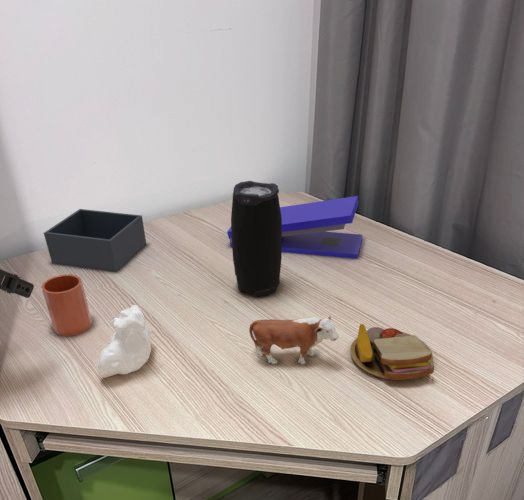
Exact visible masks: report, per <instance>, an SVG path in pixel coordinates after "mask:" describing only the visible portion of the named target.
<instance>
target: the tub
mask: <svg viewBox="0 0 524 500" xmlns="http://www.w3.org/2000/svg"><path fill="white" fill-rule="evenodd" d="M143 220H144V219H143V215H141V214H132V213H123V212H122V213H121V212H114V211H113V212H112V211H104V210H103V211H102V210H95V209H94V210H93V209H83V208H79V209H77V210H76V211H74V212H73V213H72V214H70V215H68V216H67V217H65V218H63V220H61V221H59V222H58V223H56V224H55V225H53V226H52V227H50V228H49V229H47V230H46V231H44V232H43V236H44V239H45V243H46V247H47V250H48V254H49V258H50V261H51V264H53V265H58V266H59V265H61V266H68V267H74V268H75V267H76V268H82V269H89V270H97V271H103V272H111V273H118V272H119V271H120V270H121V269H122V268H124V266H126V265H127V264H128V263H130V261H131V260H132V259H133V258H134V257H135V256H137V254H139V253H140V252H141V251H142V250H143V249H144V248H145V247H146V246H147V239H146V232H145V226H144V221H143Z"/></svg>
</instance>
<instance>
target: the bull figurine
mask: <svg viewBox="0 0 524 500" xmlns="http://www.w3.org/2000/svg"><path fill="white" fill-rule="evenodd" d="M248 331H249V335H250V338H251V340H252V342H253V344H254V348H255V350H256V352H257V355H258V356H259V357H263V356H265V357H266V359H267V362H268V364H271V365H277V364H278V363H279V361H278V360H277V359H276V358H274V356H273V355H272V351H271V349H272V346H273V345H274V346H277V347H278V348H280V349H281V350H286V349H293V348H299V349H300V350H299V358H298V361H297V362H298V364H300V365H305V364H306V360H305V357H306V356H310V357H313V356H315V352H313V349H312V348H315V347H316V346H317V345H318V344H320V343H322V342H323V340H330V341H331V342H335V341H337V340H338V339H339V337H340V335H339V334H338V333H337V331H336V327H335V324H334V322H333V321H331V315H329V316H328V317H326V318H323V319H321V318H318V317H315V316H310V317H308V318H307V317H302V318H297V319H276V318H275V319H273V318H272V319H257V320H254V321H252V322H251V323H250V326H249V328H248Z"/></svg>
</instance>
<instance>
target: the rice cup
mask: <svg viewBox="0 0 524 500" xmlns="http://www.w3.org/2000/svg"><path fill="white" fill-rule="evenodd" d="M40 287H41V291H42V295H43V299H44V301H45V305H46V308H47V311H48V315H49V318H50V321H51V325H52V328H53V331H54V332H55V333H56V334H57V335H58V336H65V337H70V336H71V337H72V336H76V335H79V334H82V333H84V332H86V331H89V329H90V328H91V326H92V323H93V321H92V320H93V319H92V315H91V312H90V308H89V303H88V299H87V296H86V292H85V288H84V283H83V280H82V278H81V277H80V276H78V275H75V274H70V273H69V274H60V275H55V276H52V277H49V278H48V279H46V280H45V281H44V282H43V283H42V285H41V286H40Z"/></svg>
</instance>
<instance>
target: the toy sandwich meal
mask: <svg viewBox="0 0 524 500" xmlns="http://www.w3.org/2000/svg"><path fill="white" fill-rule="evenodd" d="M349 353H350V357H351V358H352V360H353V361H354V363H355V364H356V365H357V366H358V367H359V368H361V369H362V370H363V371H365V372H366V373H368V374H370V375H372V376H375V377H378V378H381V379H386V380H394V381H395V380H397V381H398V380H411V379H419V378H423V377H426V376H429V375H431V374H433V373H434V372H435V365H434V364H433V360H434V355H433V352H432V349H431V348H430V347H429V345H428V344H427V343H426V342H424V341H423V340H421V339H420V338H419V336H417V335H415V334H410V333H407V332H404V331H401V330H399V329H397V328H393V327H389V328H385V329H384V328H383V327H380V326H372V327H369V328H368V329H367V328H366V326H365V324H364V323H361V324H359V327H358V333H357V337H356V338H355V339H354V340H353V341H352V342H351V345H350V349H349Z"/></svg>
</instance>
